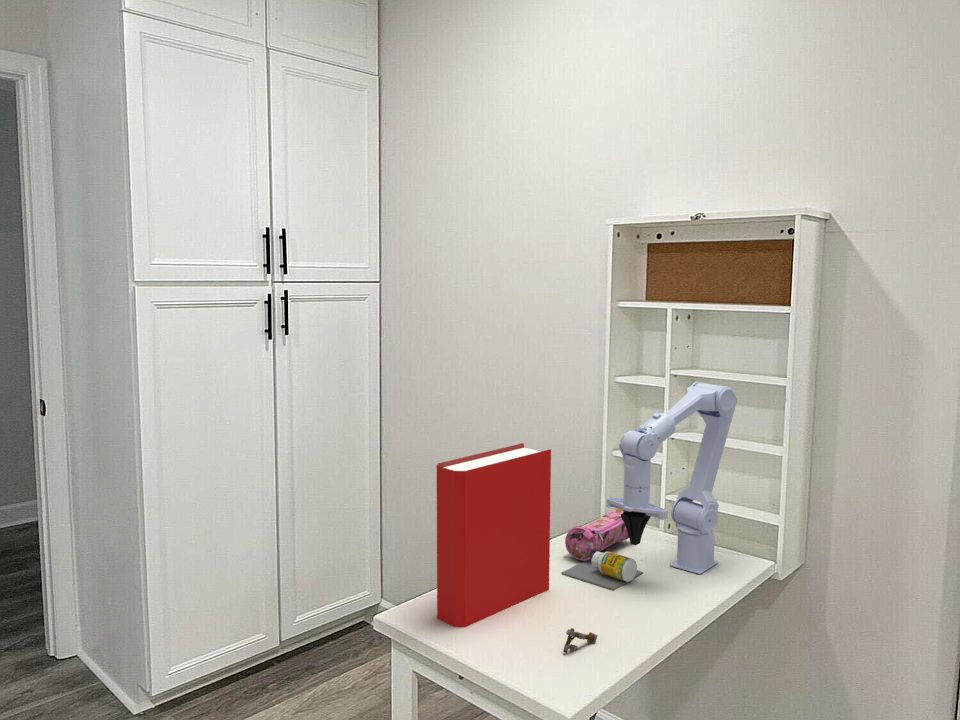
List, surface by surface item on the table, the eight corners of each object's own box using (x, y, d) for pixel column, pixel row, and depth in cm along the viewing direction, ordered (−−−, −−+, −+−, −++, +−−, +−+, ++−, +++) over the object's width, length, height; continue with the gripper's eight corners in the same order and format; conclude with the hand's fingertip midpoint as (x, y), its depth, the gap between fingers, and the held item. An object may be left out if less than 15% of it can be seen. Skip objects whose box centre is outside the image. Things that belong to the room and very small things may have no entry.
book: (522, 579, 182) (523, 443, 178) (549, 589, 177) (551, 448, 173) (433, 616, 163) (432, 464, 159) (460, 629, 158) (460, 472, 154)
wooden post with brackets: (557, 650, 148) (564, 625, 148) (584, 654, 153) (590, 631, 153) (564, 653, 146) (571, 629, 147) (591, 657, 151) (598, 634, 152)
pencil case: (595, 566, 189) (596, 530, 188) (562, 557, 194) (563, 522, 194) (637, 543, 206) (638, 510, 205) (605, 536, 211) (606, 503, 210)
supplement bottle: (639, 571, 182) (605, 560, 189) (634, 554, 180) (599, 543, 187) (627, 587, 179) (592, 575, 186) (622, 570, 177) (587, 558, 183)
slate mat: (592, 558, 195) (592, 557, 195) (642, 573, 186) (642, 571, 186) (561, 574, 185) (561, 572, 185) (613, 590, 176) (613, 588, 176)
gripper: (599, 482, 179) (598, 540, 181) (657, 495, 169) (655, 556, 171) (616, 476, 184) (614, 532, 186) (673, 488, 175) (671, 547, 176)
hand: (635, 543), depth 179 cm, fingers closed
